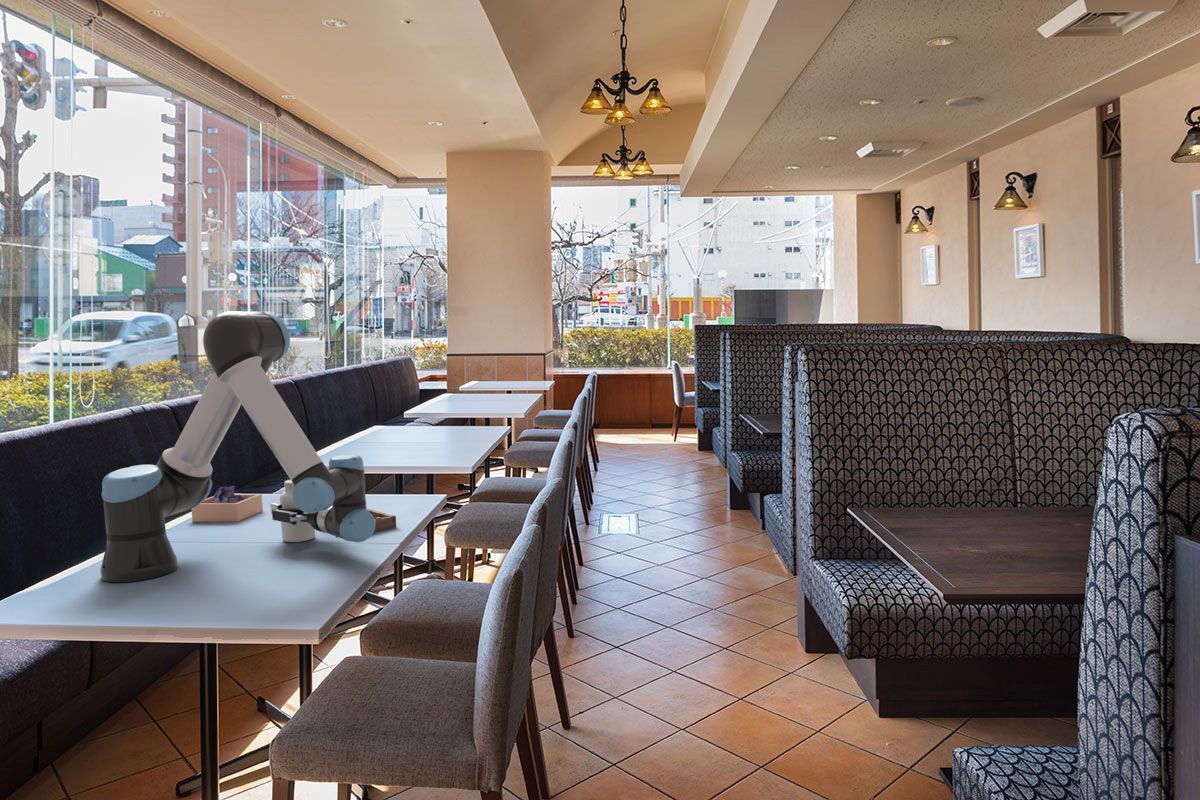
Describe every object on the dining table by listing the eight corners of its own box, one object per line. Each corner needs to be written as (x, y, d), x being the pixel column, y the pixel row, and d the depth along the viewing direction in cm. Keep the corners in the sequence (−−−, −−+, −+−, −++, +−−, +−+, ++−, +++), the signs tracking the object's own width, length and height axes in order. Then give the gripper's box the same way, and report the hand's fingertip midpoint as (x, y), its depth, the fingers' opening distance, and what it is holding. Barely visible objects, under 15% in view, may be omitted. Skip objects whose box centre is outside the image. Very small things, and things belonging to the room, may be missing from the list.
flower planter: (238, 521, 240) (237, 503, 240) (192, 521, 242) (191, 504, 242) (262, 510, 253) (261, 494, 253) (218, 511, 255) (217, 494, 254)
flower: (194, 495, 246) (224, 479, 245) (214, 501, 254) (243, 486, 253) (201, 524, 242) (231, 508, 242) (221, 529, 250) (250, 514, 249)
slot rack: (396, 527, 226) (395, 514, 225) (353, 537, 217) (352, 523, 217) (351, 514, 243) (350, 503, 243) (309, 523, 234) (308, 511, 234)
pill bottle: (316, 540, 215) (312, 481, 213) (282, 544, 212) (278, 485, 211) (314, 533, 222) (310, 476, 221) (282, 537, 219) (277, 479, 218)
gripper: (289, 542, 197) (249, 527, 213) (370, 524, 211) (327, 512, 227) (287, 510, 196) (247, 497, 212) (368, 494, 210) (325, 484, 227)
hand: (288, 505), depth 220 cm, fingers closed on pill bottle, 8 cm apart
